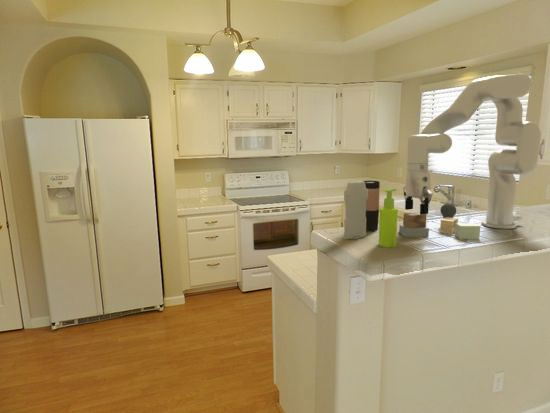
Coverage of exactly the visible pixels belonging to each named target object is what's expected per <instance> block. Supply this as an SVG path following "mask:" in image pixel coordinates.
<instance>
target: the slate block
mask: <svg viewBox="0 0 550 413" xmlns="http://www.w3.org/2000/svg"><path fill="white" fill-rule="evenodd" d="M398 230H399V234H401V235H402V236H403V237H429V232H430V227H428V226H426V227H419V228H408V227H405V226H403V224H400V223H399V228H398Z"/></svg>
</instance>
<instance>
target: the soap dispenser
mask: <svg viewBox="0 0 550 413" xmlns="http://www.w3.org/2000/svg"><path fill="white" fill-rule="evenodd" d="M384 191H385V193H386V198H384V199H383V207H381V208H380V207H379V222H378V229H379V230H378V231H379V232H378V246H379V247H382V248H395V247H396V246H397V235H398V234H397V230H398V208H396V207H395V199H394V198H393V192H397V189H396V188H387V189H385V190H384Z"/></svg>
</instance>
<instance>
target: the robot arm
mask: <svg viewBox="0 0 550 413" xmlns="http://www.w3.org/2000/svg"><path fill="white" fill-rule="evenodd" d="M532 84H533V82H532V78H531V77H530V76H529V75H528V74H526V73H523V72H521V73H513V74H512V73H511V74H504V75H503V74H502V75H492V76H486V77H482V78H481V77H480V78H478V79H474V80H471V81H470V82H469V83H468V84H467V85H466V86H465V87H464V88H463V90H462V91H461V92H460V94H459V95H458V96H457V98H456V99H455V100H454V101H453V103H452V104H451V105H450V106H449V107H448V108H447V109H445V111H443V112H442V113H440V114H439V115H437V116H436V117H435V118H433V119H432V120H431V121H430V122H429V123H428V124H427V125H426V126H425V127H424V129H422V131H421V132H420V133H419V134H412V135H409V136H408V137H407V146H406V147H407V153H406V154H407V155H406V156H407V158H406V159H407V160H406V175H405V186H403V187H402V191H403V196H404V200H405V201H404V202H405V203H404V210H407V211H408V210H413V209H414V199H413V198H415V199H419V201H420V205H419V212H420V214H421V215H422V214H426V215H428V214H429V204H430V203H431V201H432V197H433V195H434V194H433V192H432V190H431V176H430V172H429V157H430V156H429V154H430V153H431V154H444V153H447V152H448V151H449V150H450V149H451V148H452V147H453V146H452V145H453V140H452V138H451V137H450V135H448V134H446V133H445V132H447V131H449V130H451V129H453V128H456V127H459V126H461V125H463V124H464V123H467V122H468V121H469V120H470V119H471V118H472V117H473V115H474V114H475V113H476V111H477V110H478V109H479V108H480V107H481V105H483V103H485V102H489V101H491V102H492V103H493V104H494V106H495V108H496V111H497V114H496V115H497V116H496V117H497V118H496V125H495V134H494V136H495V143H496V144H497V145H499V146H502V147H516V149H498V150H496V151H494V152H492V153H491V154H490V156H489V158H488V161H487V165H488V175H489V182H488V183H489V184H488V194H487V206H486V216H485V219H483V220H481V223H480V224H481V225H482V226H484V227H488V228H491V229H501V230H507V229H509V230H510V229H516V228H517V223H516V222H517V221H522V220H523V219H522V218H523V217H522V216H521V215H515V214H514V208H515V200H516V199H515V198H516V192H517V191H516V190H517V181H516V178H515V176H514V175H518V176H527V175H530V174H532V173H533V172H534V171H535V169H536V168H537V165H538V161H539V155H540V154H539V153H540V147H541V146H540V145H541V137H542V132H541V128H540V126H539V125H538V124H537V123H536V122H534V121H530V120H529V121H528V120H527V121H526V120H525V121H523V111H524V110H523V105H522V102H521V101H520V99H519V98H522V97H524V96H527V95H528V94H529V92H530V91H531V89H532ZM515 221H516V222H515Z"/></svg>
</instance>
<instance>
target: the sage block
mask: <svg viewBox="0 0 550 413" xmlns="http://www.w3.org/2000/svg"><path fill="white" fill-rule="evenodd" d="M480 234H481V225H479V224H478V223H475V222H473V223H472V222H471V223H469V222H467V223H466V222H465V223H461V222H458V223H456V228H455V232H454V237H456V236H457V237H456V238H457V239H459V238H460V240H479V239H480V237H481V235H480Z"/></svg>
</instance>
